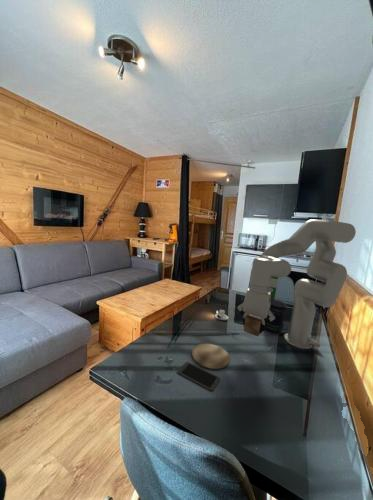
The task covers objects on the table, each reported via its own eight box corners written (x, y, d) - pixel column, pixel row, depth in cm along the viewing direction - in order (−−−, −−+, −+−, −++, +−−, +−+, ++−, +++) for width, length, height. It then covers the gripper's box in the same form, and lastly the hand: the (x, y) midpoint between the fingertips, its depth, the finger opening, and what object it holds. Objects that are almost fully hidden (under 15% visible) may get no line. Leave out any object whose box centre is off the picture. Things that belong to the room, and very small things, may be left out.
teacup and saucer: (228, 322, 120) (229, 315, 120) (213, 319, 122) (214, 312, 121) (228, 316, 129) (229, 309, 128) (215, 313, 130) (216, 306, 130)
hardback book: (245, 303, 153) (251, 269, 149) (246, 299, 160) (251, 268, 156) (272, 309, 147) (278, 274, 144) (272, 305, 154) (278, 272, 151)
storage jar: (261, 329, 115) (265, 303, 113) (263, 323, 124) (268, 298, 122) (281, 336, 111) (286, 308, 109) (282, 328, 119) (287, 303, 117)
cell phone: (186, 362, 82) (186, 361, 82) (220, 379, 75) (221, 377, 75) (175, 373, 76) (176, 371, 76) (212, 393, 69) (212, 391, 69)
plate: (235, 355, 90) (235, 353, 90) (219, 375, 77) (219, 372, 77) (203, 341, 98) (203, 339, 98) (184, 356, 85) (185, 354, 85)
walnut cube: (262, 330, 92) (264, 317, 91) (258, 336, 87) (260, 322, 86) (248, 325, 95) (250, 313, 94) (243, 331, 90) (245, 317, 89)
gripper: (283, 291, 87) (276, 333, 90) (241, 281, 96) (236, 319, 99) (279, 296, 81) (272, 340, 83) (235, 285, 90) (230, 325, 93)
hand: (253, 328), depth 91 cm, fingers closed on walnut cube, 6 cm apart
